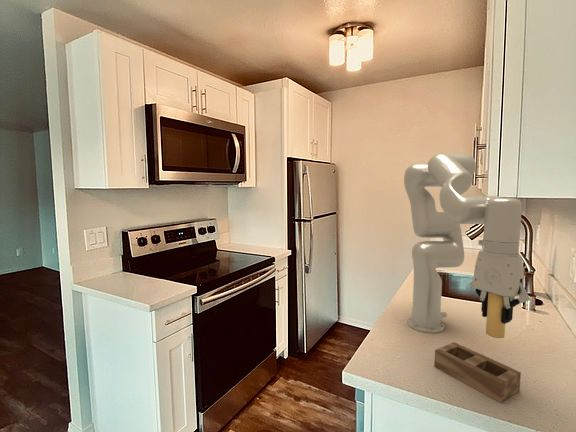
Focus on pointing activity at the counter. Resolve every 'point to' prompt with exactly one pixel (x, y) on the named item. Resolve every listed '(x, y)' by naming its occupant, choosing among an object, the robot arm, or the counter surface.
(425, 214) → the robot arm
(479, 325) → the counter surface
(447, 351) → the socket block
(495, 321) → the peg
